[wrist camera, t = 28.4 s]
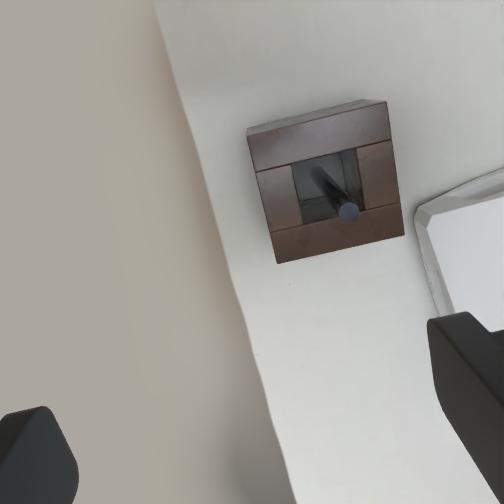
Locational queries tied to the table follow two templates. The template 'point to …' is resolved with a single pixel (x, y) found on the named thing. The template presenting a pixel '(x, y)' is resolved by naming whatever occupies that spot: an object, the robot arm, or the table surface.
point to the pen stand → (354, 169)
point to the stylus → (335, 195)
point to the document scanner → (466, 249)
